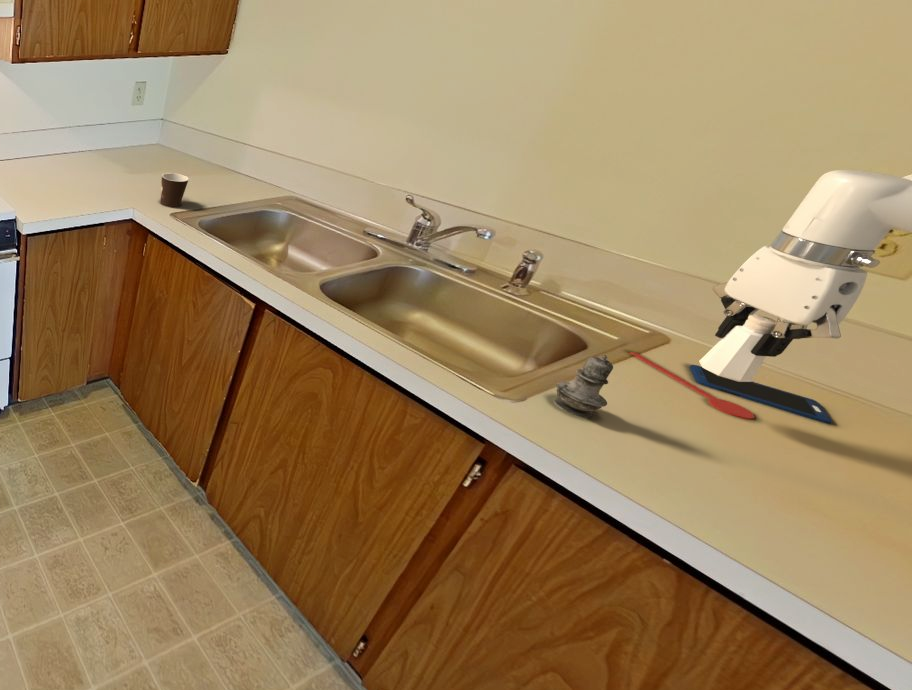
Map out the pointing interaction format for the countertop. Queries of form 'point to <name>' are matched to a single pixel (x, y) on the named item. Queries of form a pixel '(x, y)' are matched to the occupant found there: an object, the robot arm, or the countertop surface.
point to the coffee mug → (173, 189)
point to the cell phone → (762, 394)
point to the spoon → (706, 394)
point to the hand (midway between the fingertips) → (744, 345)
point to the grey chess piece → (585, 388)
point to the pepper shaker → (739, 350)
